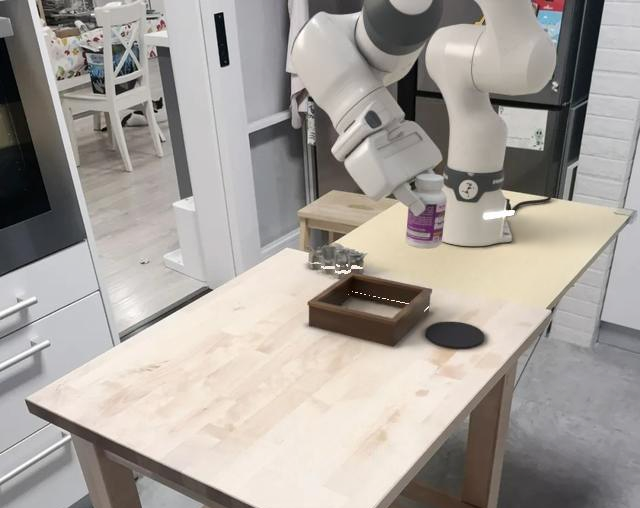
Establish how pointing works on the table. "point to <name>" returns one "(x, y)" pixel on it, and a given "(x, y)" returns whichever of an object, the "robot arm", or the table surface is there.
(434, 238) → the pill bottle
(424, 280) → the table surface
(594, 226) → the table surface
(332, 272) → the egg carton
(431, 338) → the coaster
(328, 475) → the table surface
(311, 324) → the wooden square frame
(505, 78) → the robot arm
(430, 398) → the table surface
